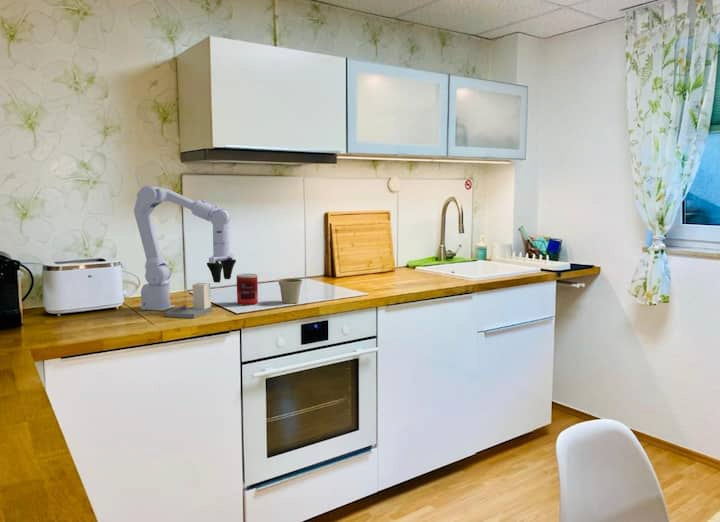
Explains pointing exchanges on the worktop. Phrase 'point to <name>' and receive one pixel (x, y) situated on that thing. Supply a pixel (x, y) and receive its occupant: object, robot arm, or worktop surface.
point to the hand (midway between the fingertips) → (222, 280)
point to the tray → (186, 312)
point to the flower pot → (290, 290)
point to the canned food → (247, 289)
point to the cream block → (201, 296)
